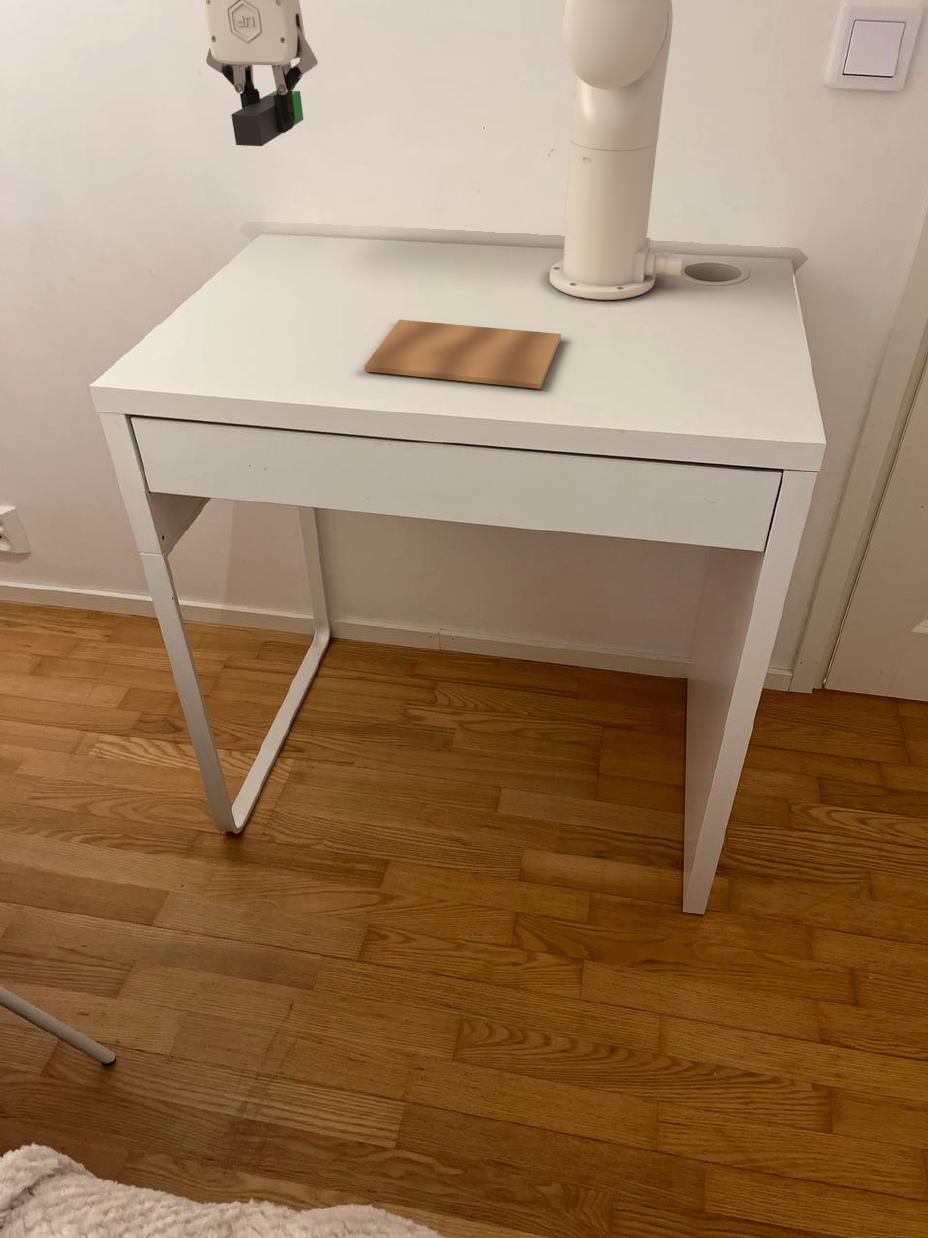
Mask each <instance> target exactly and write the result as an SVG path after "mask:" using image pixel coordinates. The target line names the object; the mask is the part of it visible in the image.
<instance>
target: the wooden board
mask: <svg viewBox="0 0 928 1238" xmlns="http://www.w3.org/2000/svg"><path fill="white" fill-rule="evenodd" d="M561 339H562V333H556V332H545V331H531V330H522V329H521V330H520V329H509V328H500V327H499V328H498V327H487V326H478V325H477V326H476V325H464V324H454V323H444V322H443V323H442V322H434V321H433V322H432V321H431V322H430V321H420V320H409V319H399V320H398V321H397V322H396V323H395V324H394V325H393V327H392V328H391V330H390V331H389V333H388V334H387V336H385V338H384V339H383V340H382V342H381V343H380V344H379V346H378V347H377V348H376V350H375V351H374V353H373V354H372V355H371V357H370V358H369V359H368V360H367V362H366V363H365V365H364V371H365V372H369V373H370V372H371V373H380V374H391V375H401V376H408V377H409V376H410V377H411V376H412V377H420V378H430V379H431V378H432V379H439V380H440V379H441V380H449V381H451V380H452V381H460V382H469V383H479V384H480V383H482V384H489V385H500V386H511V387H519V388H530V389H539V390H540V389H541V388H542V386H543V383H544V381H545V378H546V377H547V374H548V372H549V370H550V369H549V368H550V366H551V363H552V361H553V359H554V356H555V354H556V352H557V349H558V346H559V344H560V341H561Z"/></svg>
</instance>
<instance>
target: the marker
mask: <svg viewBox="0 0 928 1238" xmlns="http://www.w3.org/2000/svg"><path fill="white" fill-rule="evenodd" d="M276 94H277V91H276V90H274V91H272V92H271V93H269V94H267V95H265V96H263V97H260V99H259V100H257V101H255V102H254V103H252V104H250V105H248V106H246V107H244V108H242V107H241V109H239V110H237V111H235V112H233V113H231V114H230V116H231V121H232V128H233V134H234V140H235V145H236V146H244V147H245V146H246V147H263V146H265V145H267V144H268V143H269V142H271V141H272V140H274V139H276V138H277V137H279V136H280V135H282V134H283V133H280V132H279V131H278V125H277V117H276V110H275V105H274V95H276ZM292 97H293V105H294V113H295V122H294V123H293V127H295V126H296V125H298V124H299V123H301V122H302V121H304V112H303V104H302V96H301V91H300V90H292Z"/></svg>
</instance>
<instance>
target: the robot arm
mask: <svg viewBox="0 0 928 1238" xmlns="http://www.w3.org/2000/svg"><path fill="white" fill-rule="evenodd" d="M300 2H301V1H300V0H204V10H205V11H204V12H205V21H206V30H207V38H208V43H209V48H208V52H207V55H206V60H205V61H206V64H207V65H208V66H209V67H210V68H212V69H214V70H215V71H217V72H218V73H221V74H222V75H223V76H224V78H225V79H226V80H227V81H228V82H229V83H230V84H231V85H232V86H233V87H234V90H235V92H236V93H237V94H239V98H240V104H241V109H242V108H244V107H246V106H248V105H250V104H252V103H254V102H255V101H257V100H259V99H261V95H260V91H259V90H258V88H255V84H254V66H271V71H272V75H273V79H274V84H275V89H276V90H275V91H277V94H276V95H274V105H275V110H276V117H277V125H278V131H279V132H280V133H282V134H285V133H287V132H289V131H290V130H291V129H293V128H294V126H293V123H294V122H295V113H294V105H293V97H292V91H295V88H296V86H297V84H298V83H299V82H300V80H301V79H302V78H303V76H304V75H306V74H307V73H309V72H310V71H312V70H313V69H315V68H316V67H317V66H318V59H317V57H316V56H315V53H314V52H313V50H312V48H311V46H310V44H309V43H308V40H307V39H306V36H305V35H306V33H305V28H304V21H303V14H302V8H301V3H300ZM673 15H674V14H673V3H672V0H566V1H565V8H564V13H563V21H562V32H561V33H562V36H561V37H562V46H563V49H564V50H563V51H564V54H565V57H566V60H567V63H568V65H569V67H570V68H571V70H572V72H573V73H574V74H575V75H574V76H575V78H574V85H573V86H574V87H573V95H572V108H571V120H570V121H571V122H570V139H569V155H568V171H567V172H568V173H567V192H566V207H565V208H566V209H565V225H564V227H565V228H564V245H563V259H561V260H559V261H556V262H555V263H554V264H553V265H552V266H551V267H550V270H549V282H550V284H551V285H552V287H554V288H555V289H557V290H558V291H559V292H562V293H564V294H567V295H569V296H573V297H578V298H583V299H590V300H600V301H603V300H605V301H610V300H613V301H614V300H625V299H628V298H634V297H637V296H640V295H643V294H645V293H647V292H648V291H650V290H651V289H652V288H653V287H654V286H655V283H656V274H665V275H669V276H682V270H683V264H684V263H683V262H684V257H675V252H671V251H655V248H651V237H648V227H649V220H650V219H649V218H650V211H651V201H652V191H653V183H654V175H655V174H654V173H655V167H656V166H655V164H656V156H657V145H658V141H659V132H660V123H661V113H662V107H663V105H662V104H663V97H664V89H665V84H666V83H665V82H666V76H667V75H666V74H667V69H668V60H669V55H670V48H671V41H672V40H671V39H672V33H673V19H674V18H673V17H674V16H673ZM295 59H299V62H298V63H296V64H295V65H294V66H292V63H291V62H292V61H293V60H295Z"/></svg>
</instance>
